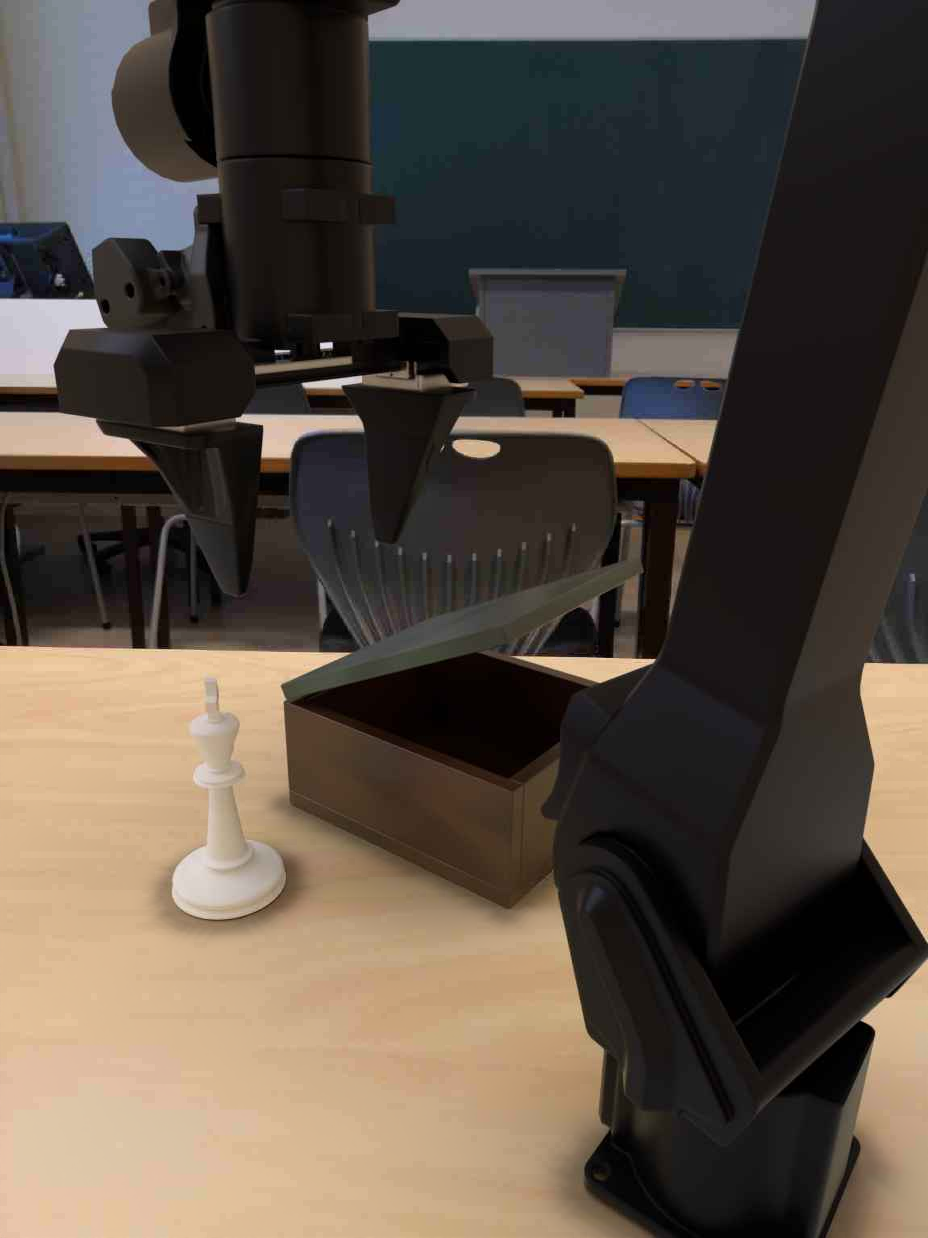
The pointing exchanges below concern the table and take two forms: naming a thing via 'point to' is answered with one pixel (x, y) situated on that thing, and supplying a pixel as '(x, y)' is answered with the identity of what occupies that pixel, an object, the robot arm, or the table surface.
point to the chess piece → (224, 832)
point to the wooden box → (439, 765)
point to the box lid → (465, 630)
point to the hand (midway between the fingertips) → (316, 566)
